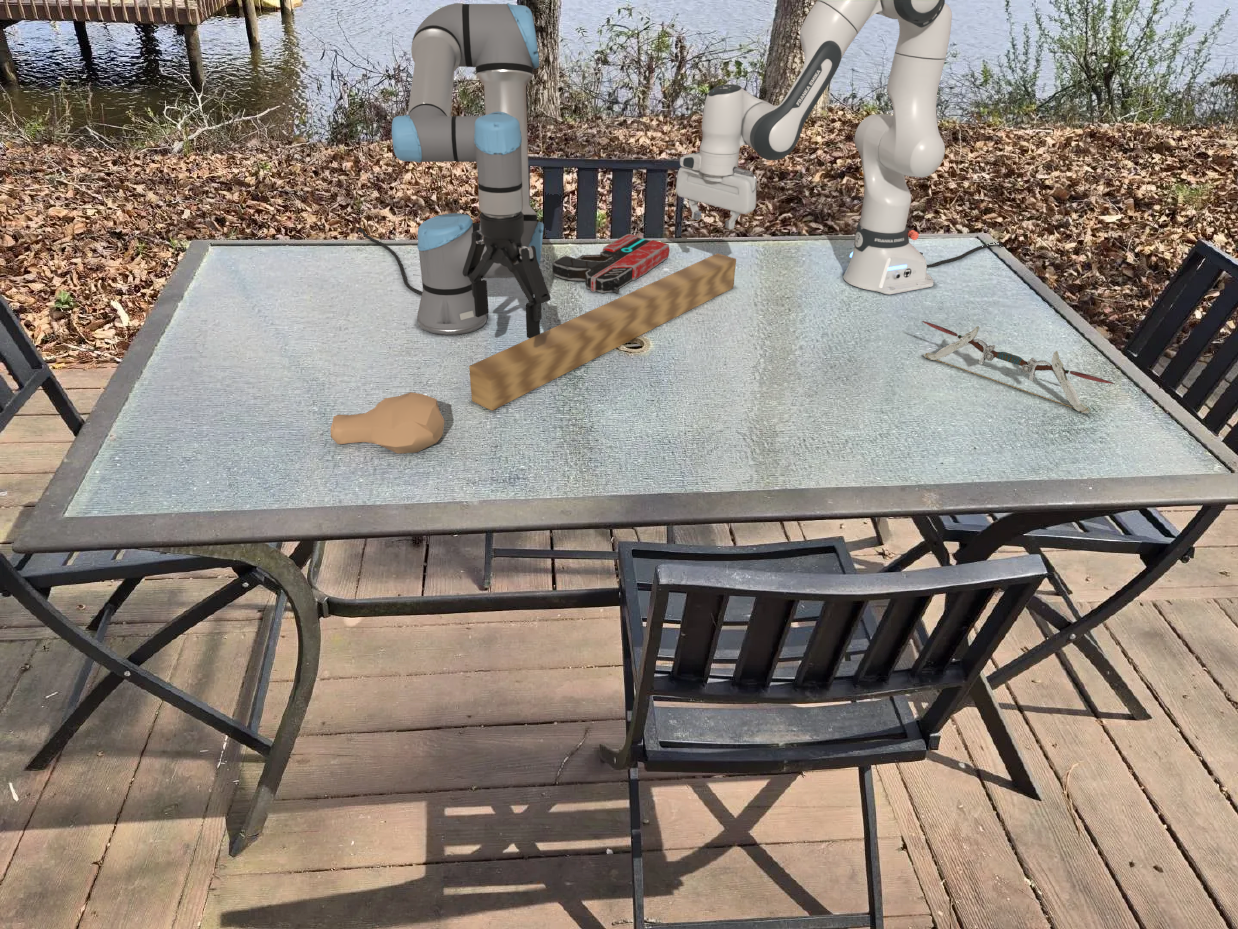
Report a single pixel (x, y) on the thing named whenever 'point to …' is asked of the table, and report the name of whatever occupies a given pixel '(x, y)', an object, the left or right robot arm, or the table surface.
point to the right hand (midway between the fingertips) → (712, 223)
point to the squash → (393, 424)
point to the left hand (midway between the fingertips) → (507, 325)
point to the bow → (1026, 366)
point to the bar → (597, 332)
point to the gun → (613, 263)
